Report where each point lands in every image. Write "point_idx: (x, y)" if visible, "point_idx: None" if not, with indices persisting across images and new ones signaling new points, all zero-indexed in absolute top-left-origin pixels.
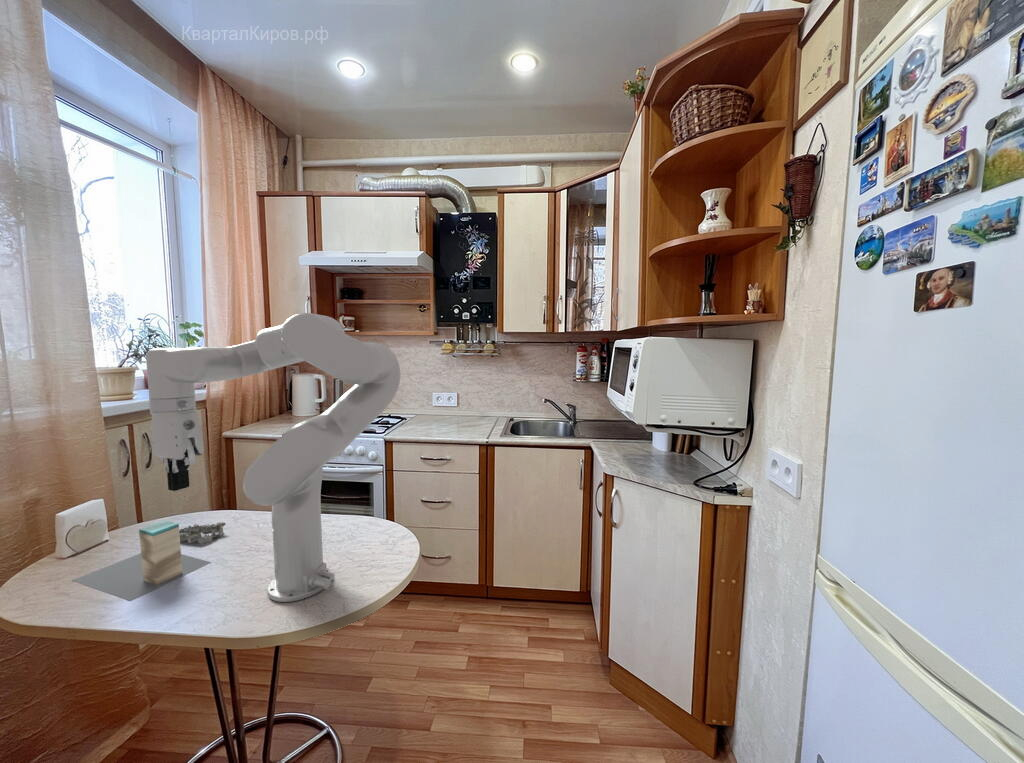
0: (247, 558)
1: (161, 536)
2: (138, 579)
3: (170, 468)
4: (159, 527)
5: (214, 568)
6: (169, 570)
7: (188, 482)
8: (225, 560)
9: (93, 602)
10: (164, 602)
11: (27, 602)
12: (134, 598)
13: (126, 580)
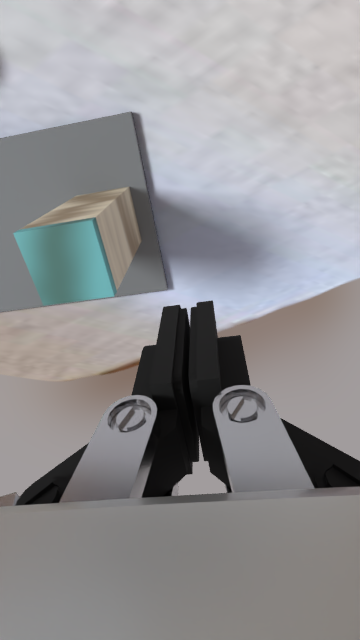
0: (188, 16)
1: (112, 266)
2: None
3: (176, 488)
4: (77, 269)
5: (162, 118)
6: (131, 219)
7: (212, 315)
8: (139, 71)
9: (101, 315)
10: (222, 254)
11: (10, 361)
12: (163, 283)
13: None
